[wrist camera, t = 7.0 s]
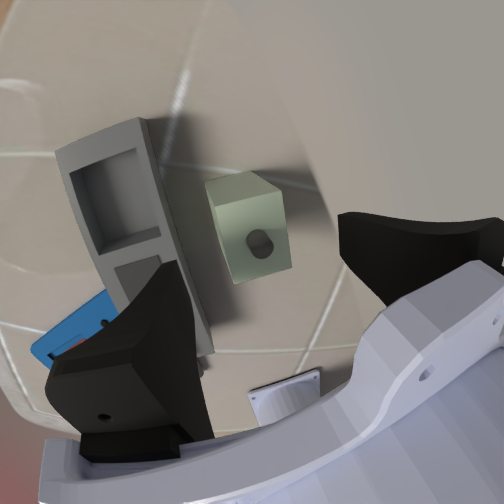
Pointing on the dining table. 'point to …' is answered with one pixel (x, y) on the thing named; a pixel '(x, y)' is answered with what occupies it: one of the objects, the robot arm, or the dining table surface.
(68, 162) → the power strip
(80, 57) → the dining table surface
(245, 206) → the charger
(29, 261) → the dining table surface
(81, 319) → the handheld gaming device
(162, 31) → the dining table surface
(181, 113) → the dining table surface
